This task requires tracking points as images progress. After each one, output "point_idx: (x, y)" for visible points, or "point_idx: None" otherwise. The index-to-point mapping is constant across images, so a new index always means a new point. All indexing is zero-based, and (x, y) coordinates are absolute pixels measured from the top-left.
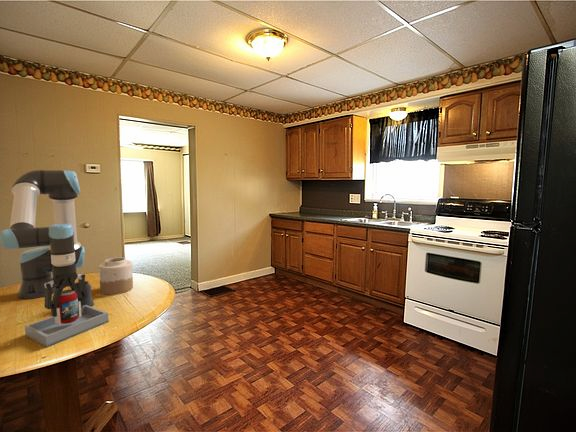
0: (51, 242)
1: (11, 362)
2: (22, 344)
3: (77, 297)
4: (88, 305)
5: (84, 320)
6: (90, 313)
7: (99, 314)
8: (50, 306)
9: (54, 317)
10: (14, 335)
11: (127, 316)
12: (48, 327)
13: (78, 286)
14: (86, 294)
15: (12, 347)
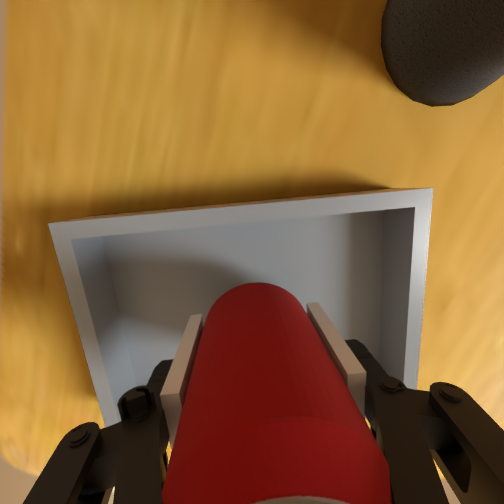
0: None
1: (17, 414)
2: (65, 298)
3: (382, 407)
4: (462, 95)
5: (329, 297)
6: (388, 255)
7: (392, 347)
8: (100, 499)
9: (182, 337)
10: (46, 155)
11: (457, 385)
12: (185, 232)
13: None
14: (461, 462)
15: (28, 294)
